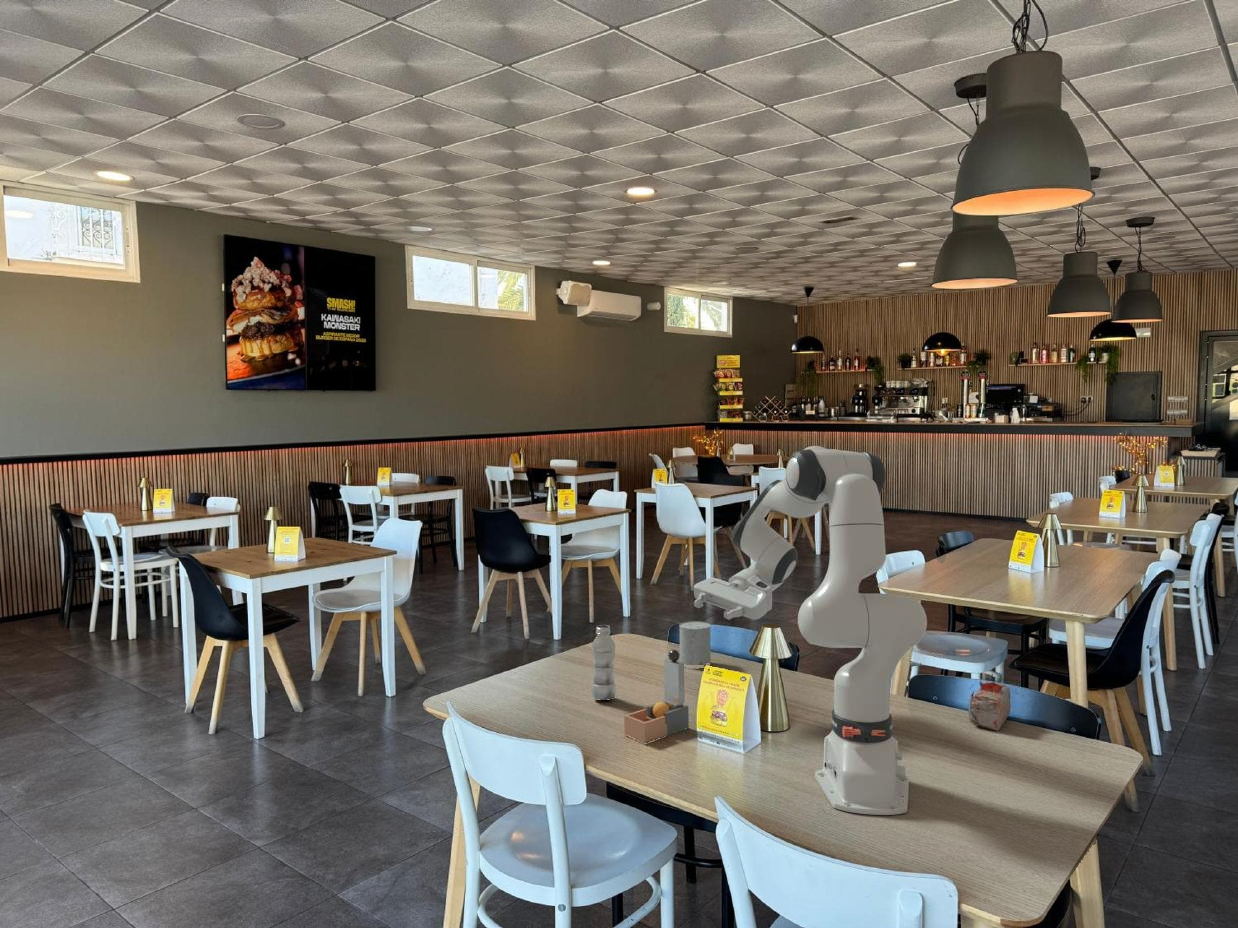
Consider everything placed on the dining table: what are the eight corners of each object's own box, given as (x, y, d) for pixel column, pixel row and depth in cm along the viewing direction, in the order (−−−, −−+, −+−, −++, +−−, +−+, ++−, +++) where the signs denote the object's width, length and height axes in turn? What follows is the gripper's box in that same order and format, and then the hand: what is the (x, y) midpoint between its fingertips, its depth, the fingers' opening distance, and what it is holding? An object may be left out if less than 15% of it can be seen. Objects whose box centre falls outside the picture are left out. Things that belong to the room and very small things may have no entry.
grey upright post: (671, 709, 206) (670, 646, 205) (685, 714, 202) (685, 650, 202) (661, 712, 204) (660, 649, 203) (675, 717, 200) (675, 653, 199)
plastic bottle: (604, 694, 228) (603, 622, 227) (621, 699, 223) (620, 626, 222) (586, 699, 224) (585, 626, 222) (604, 705, 219) (602, 631, 218)
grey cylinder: (678, 668, 250) (677, 628, 250) (681, 659, 260) (680, 620, 259) (709, 669, 249) (709, 629, 248) (711, 660, 258) (711, 621, 257)
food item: (1002, 734, 196) (1002, 693, 195) (966, 727, 200) (966, 687, 200) (1012, 716, 207) (1013, 678, 206) (978, 710, 211) (978, 672, 211)
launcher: (669, 720, 207) (669, 699, 207) (688, 728, 202) (688, 706, 202) (647, 728, 202) (647, 706, 202) (666, 736, 197) (666, 713, 197)
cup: (646, 728, 202) (646, 708, 202) (667, 736, 197) (667, 715, 197) (624, 735, 198) (624, 715, 197) (644, 744, 192) (644, 723, 192)
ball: (668, 721, 198) (668, 705, 198) (652, 721, 199) (651, 704, 199) (670, 715, 202) (670, 699, 202) (654, 715, 203) (653, 699, 203)
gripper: (712, 567, 222) (678, 587, 213) (776, 589, 208) (743, 611, 199) (713, 588, 224) (680, 609, 215) (777, 611, 210) (743, 634, 201)
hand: (710, 610), depth 207 cm, fingers open, 8 cm apart
